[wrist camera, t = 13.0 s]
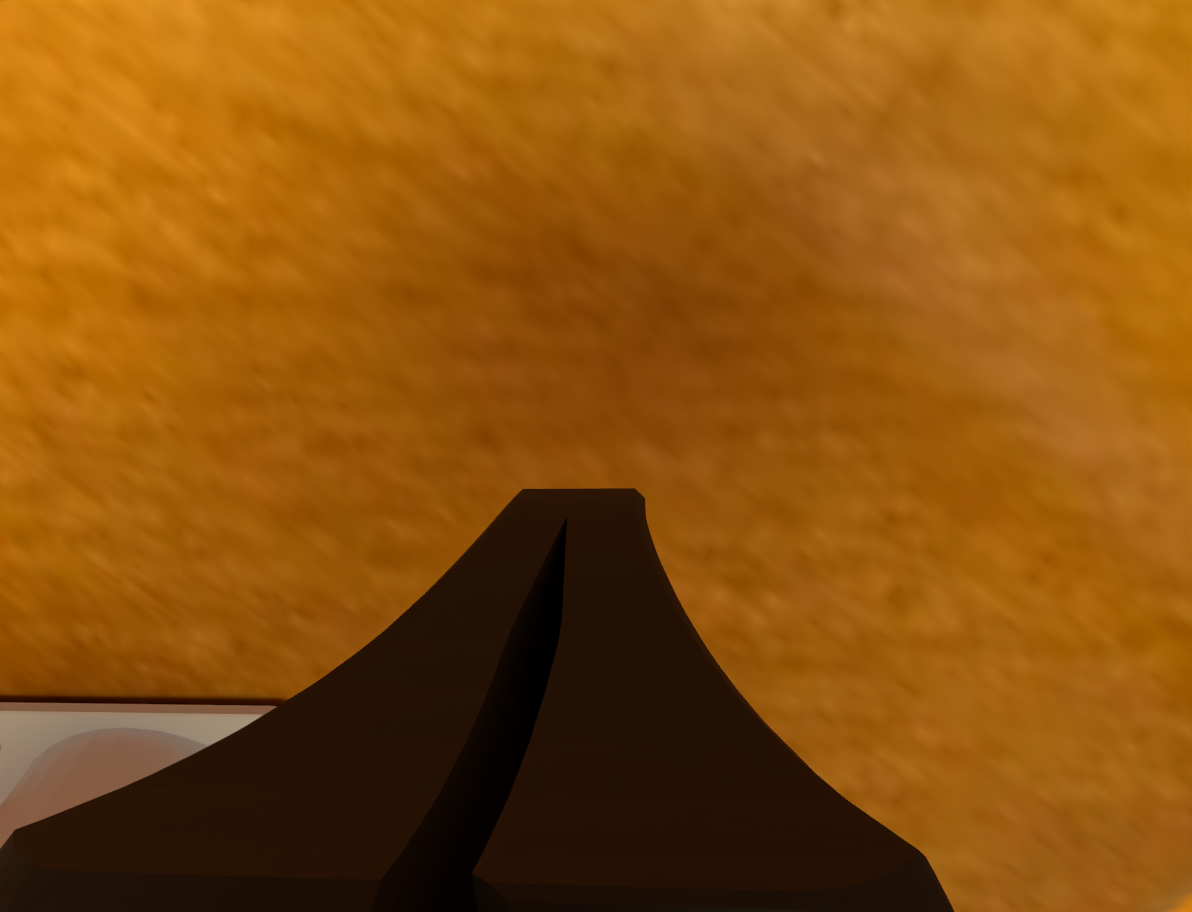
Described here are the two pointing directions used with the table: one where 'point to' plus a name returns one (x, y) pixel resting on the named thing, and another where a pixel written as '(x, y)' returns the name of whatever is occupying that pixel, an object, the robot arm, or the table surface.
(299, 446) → the table surface
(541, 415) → the table surface
